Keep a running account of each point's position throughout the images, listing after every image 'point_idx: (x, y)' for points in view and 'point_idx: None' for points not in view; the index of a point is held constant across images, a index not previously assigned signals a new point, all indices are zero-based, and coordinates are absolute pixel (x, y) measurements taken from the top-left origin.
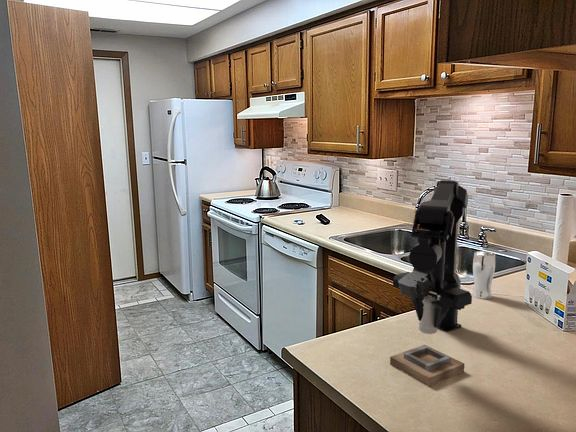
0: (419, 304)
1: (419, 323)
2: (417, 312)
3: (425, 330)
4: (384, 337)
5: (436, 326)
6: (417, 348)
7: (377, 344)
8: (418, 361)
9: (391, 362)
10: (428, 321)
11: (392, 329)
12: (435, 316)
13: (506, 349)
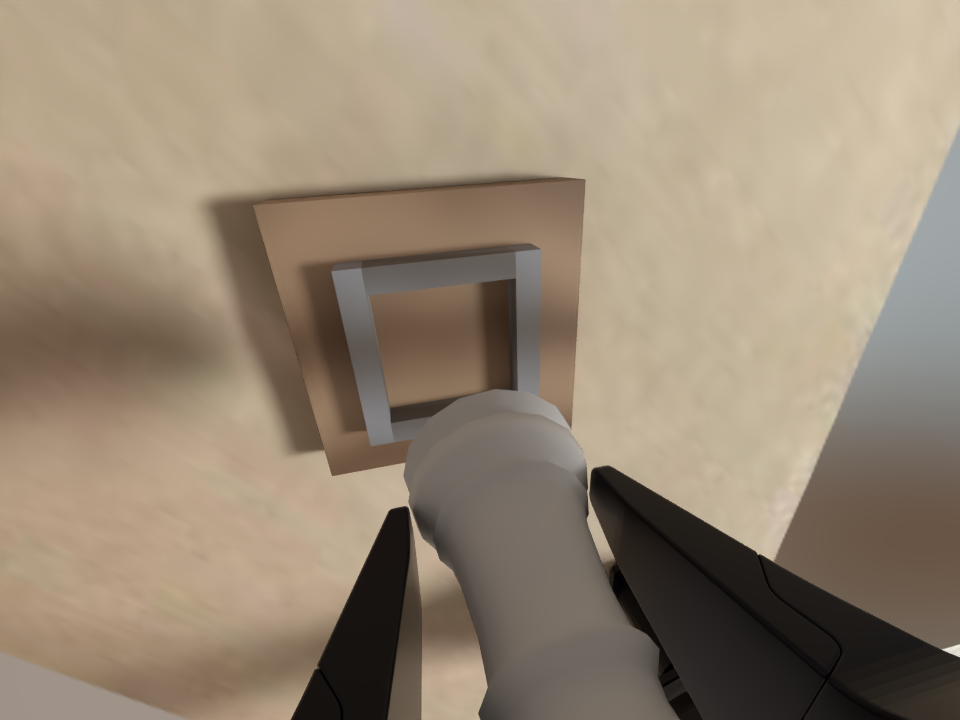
0: (737, 643)
1: (556, 432)
2: (668, 518)
3: (457, 417)
4: (749, 344)
5: (385, 524)
6: (538, 360)
7: (735, 270)
8: (418, 261)
9: (560, 179)
10: (467, 509)
11: (763, 416)
12: (365, 637)
13: None
